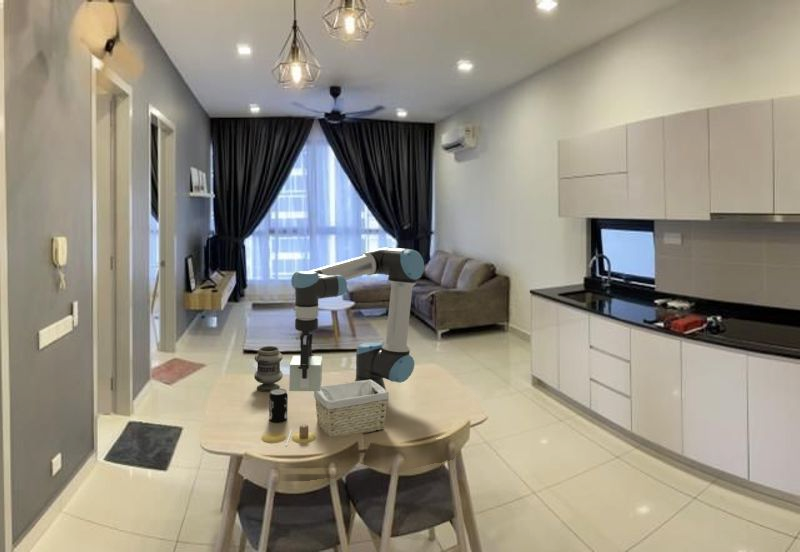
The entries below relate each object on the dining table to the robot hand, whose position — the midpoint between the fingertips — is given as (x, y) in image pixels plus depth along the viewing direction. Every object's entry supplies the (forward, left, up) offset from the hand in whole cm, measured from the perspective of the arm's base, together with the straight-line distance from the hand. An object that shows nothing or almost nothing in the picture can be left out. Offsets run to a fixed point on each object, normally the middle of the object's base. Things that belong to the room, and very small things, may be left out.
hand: (306, 381), depth 167 cm
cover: (0, 0, -2) cm, 2 cm away
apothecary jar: (+21, -49, -20) cm, 57 cm away
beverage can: (+11, -13, -20) cm, 26 cm away
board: (+5, +2, -20) cm, 21 cm away
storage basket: (-15, -9, -21) cm, 27 cm away
